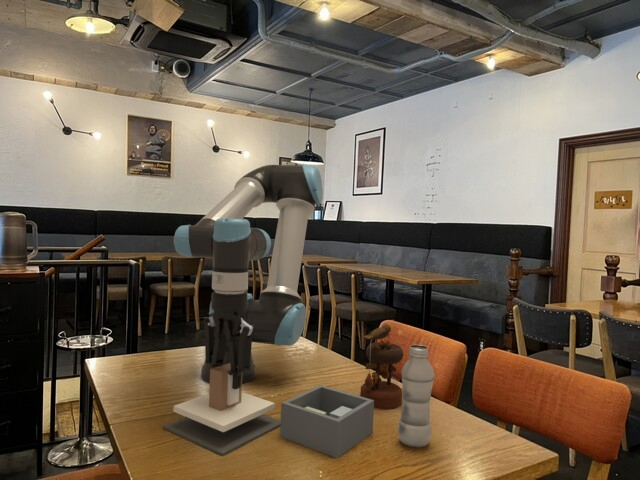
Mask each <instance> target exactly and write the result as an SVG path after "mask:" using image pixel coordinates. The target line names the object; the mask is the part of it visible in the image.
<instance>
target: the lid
mask: <svg viewBox="0 0 640 480" xmlns="http://www.w3.org/2000/svg"><path fill="white" fill-rule="evenodd" d="M228 372H231V366H230V363H228V364H225V365H222V366H218V367H215V368H212V369H210V383H209V393H206V394H203V395H201V396H197V397H195V398H192V399H189V400H186V401H183V402H181V403H178V404H174V405H173V410H172V411H173V412H174V413H176V414H178V415H181V416H183V417H184V418H185V417H188V418H190V419H193V420H195V421H197V422H200V423H202V424H205V425H207V426H209V427H212V428H214V429H217V430H219V431H221V432H225V431H227V430H230V429H232V428H234V427H236V426H238V425H241V424H243V423H245V422H247V421H249V420H251V419H254V418H256V417H258V416H260V415H262V414H264V415H266V413H269V412H271V411H273V410H275V409H276V403H275V402H273V401H269V400H266V399H264V398H260V397H257V396H254V395H251V394H250V393H245V392H243V383H242V375H241V387H240V388H239V402H237V403H234V404H232V405H227V386H228V374H229V373H228Z"/></svg>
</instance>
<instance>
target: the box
mask: <svg viewBox="0 0 640 480" xmlns="http://www.w3.org/2000/svg"><path fill="white" fill-rule="evenodd" d="M280 405H281V406H280V408H281V409H280V421H281V426H280V427H279V428H280V432H279V437H281V438H283V439H286V440H289V441H291V442H294V443H297V444H299V445H301V446H304V447H307V448H309V449H311V450H315V451H317V452H319V453H321V454H325V455H328V456H330V457H333V458H335V459H339V458H340V457H341V456H342V455H344V454H345V453H347V452H348V451H349V450H351V449H352V448H353V447H355V446H356V445H358V444H359V443H361V442H362V441H364V440H365V439H366V438H367V437H369V436H370V435H371V434H373V433H374V431H373V430H374V413H375V412H374V411H375V408H374V400H371V399H368V398H364V397H361V396H360V395H356V394H353V393H350V392H345V391H342V390H339V389H336V388H332V387H329V386H324V385H322V384H320V385H317V386H315V387H313V388H311V389H309V390H306V391H305V392H302V393H300V394H297V395H295V396H293V397H291V398H289V399H287V400H284V401H282V402H281V404H280Z"/></svg>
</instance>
